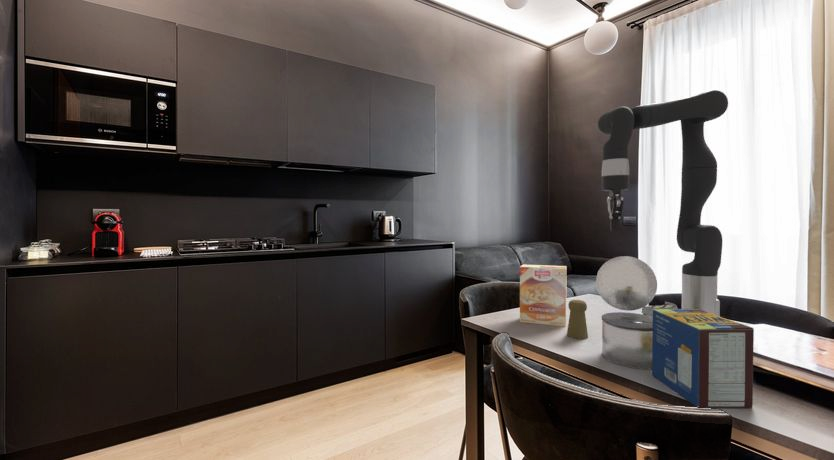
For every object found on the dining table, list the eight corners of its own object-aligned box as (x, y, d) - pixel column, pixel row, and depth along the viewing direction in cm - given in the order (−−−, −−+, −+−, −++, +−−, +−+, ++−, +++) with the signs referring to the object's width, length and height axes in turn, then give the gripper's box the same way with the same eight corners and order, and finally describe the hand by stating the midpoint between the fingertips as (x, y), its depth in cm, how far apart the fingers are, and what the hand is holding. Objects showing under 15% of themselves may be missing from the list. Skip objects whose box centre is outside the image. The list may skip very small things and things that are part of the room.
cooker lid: (658, 312, 102) (655, 311, 105) (656, 256, 104) (653, 257, 107) (596, 308, 107) (595, 308, 110) (596, 255, 109) (595, 256, 111)
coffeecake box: (519, 322, 131) (519, 266, 130) (522, 317, 138) (522, 263, 137) (566, 327, 125) (566, 268, 125) (566, 321, 132) (566, 265, 131)
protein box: (696, 374, 88) (697, 308, 87) (753, 409, 72) (755, 328, 72) (650, 374, 88) (651, 308, 87) (697, 408, 72) (699, 328, 72)
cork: (590, 339, 113) (590, 302, 112) (568, 338, 114) (568, 302, 113) (585, 333, 118) (585, 298, 118) (565, 332, 120) (565, 297, 119)
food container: (662, 346, 107) (663, 310, 106) (641, 339, 112) (641, 306, 112) (687, 338, 112) (687, 305, 112) (665, 333, 118) (666, 301, 117)
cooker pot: (656, 351, 103) (657, 314, 102) (673, 372, 89) (674, 330, 89) (598, 345, 107) (598, 310, 107) (605, 365, 94) (605, 325, 93)
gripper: (633, 172, 110) (633, 232, 110) (624, 176, 122) (624, 230, 123) (604, 173, 112) (604, 232, 113) (598, 177, 125) (598, 230, 125)
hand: (614, 230), depth 118 cm, fingers closed
